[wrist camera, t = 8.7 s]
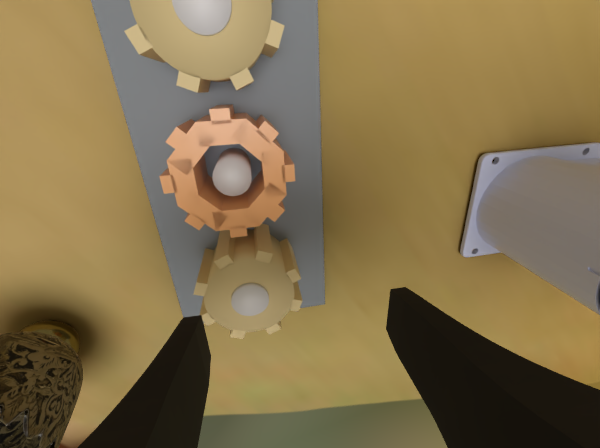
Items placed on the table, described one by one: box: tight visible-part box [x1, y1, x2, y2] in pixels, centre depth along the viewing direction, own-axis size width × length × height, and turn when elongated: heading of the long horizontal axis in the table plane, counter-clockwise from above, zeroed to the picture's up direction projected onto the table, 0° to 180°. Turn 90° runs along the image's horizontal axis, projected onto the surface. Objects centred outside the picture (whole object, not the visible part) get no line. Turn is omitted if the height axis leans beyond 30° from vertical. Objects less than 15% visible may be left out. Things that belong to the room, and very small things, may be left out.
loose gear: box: [159, 104, 295, 238], centre depth 15 cm, size 6×6×4 cm
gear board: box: [91, 0, 325, 339], centre depth 15 cm, size 10×22×5 cm, turn 3°
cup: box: [0, 320, 83, 448], centre depth 17 cm, size 8×7×8 cm
